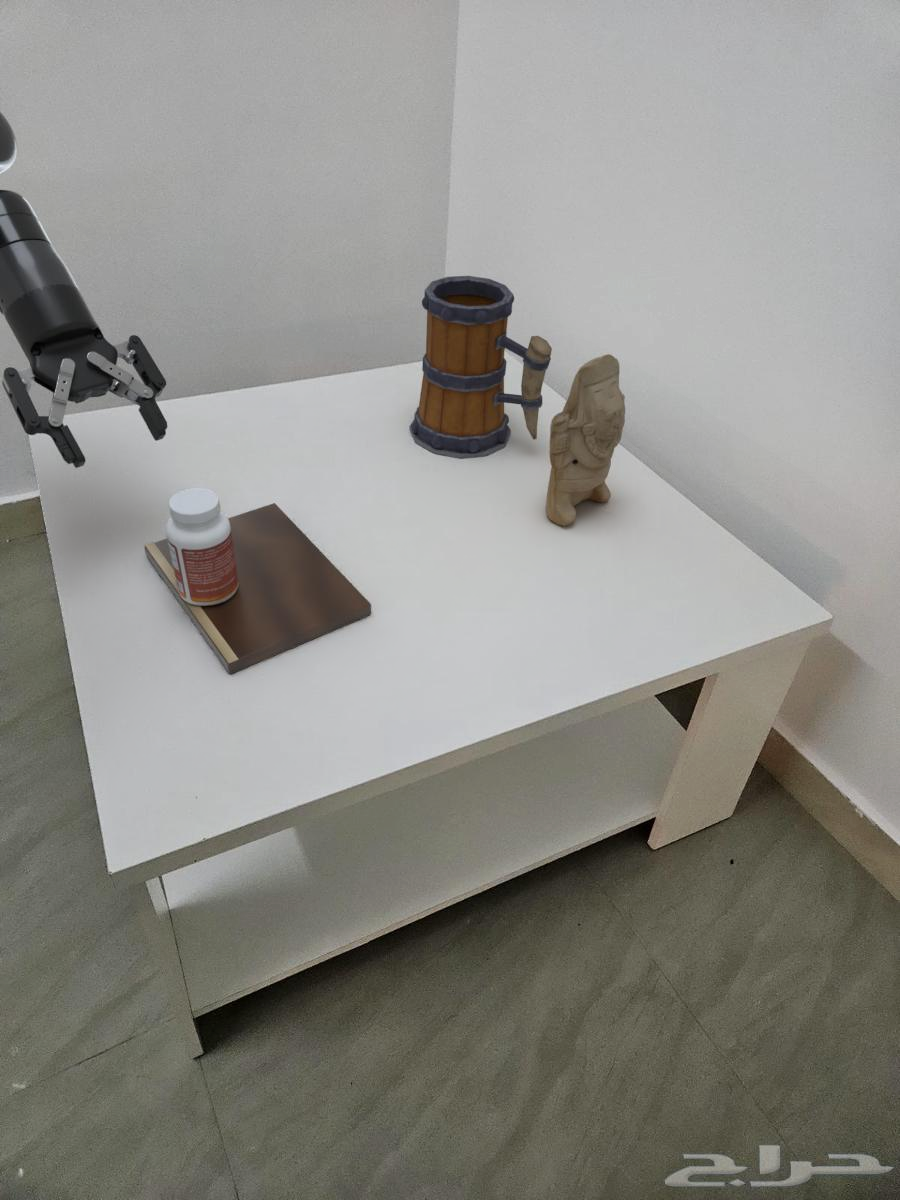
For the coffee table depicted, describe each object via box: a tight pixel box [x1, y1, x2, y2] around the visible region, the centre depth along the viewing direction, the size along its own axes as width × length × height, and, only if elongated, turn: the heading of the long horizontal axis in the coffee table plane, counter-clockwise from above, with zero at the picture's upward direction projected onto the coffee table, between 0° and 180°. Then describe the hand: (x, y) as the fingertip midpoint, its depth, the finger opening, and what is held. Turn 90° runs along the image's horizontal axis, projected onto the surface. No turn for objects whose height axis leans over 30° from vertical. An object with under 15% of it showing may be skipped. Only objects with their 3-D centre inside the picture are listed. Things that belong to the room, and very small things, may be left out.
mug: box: [408, 275, 553, 459], centre depth 109 cm, size 19×14×20 cm
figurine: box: [545, 353, 626, 527], centre depth 96 cm, size 13×7×20 cm, turn 131°
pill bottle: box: [165, 487, 238, 606], centre depth 82 cm, size 6×6×11 cm
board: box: [143, 502, 372, 675], centre depth 88 cm, size 16×22×2 cm
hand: (122, 450), depth 82 cm, fingers open, 8 cm apart
